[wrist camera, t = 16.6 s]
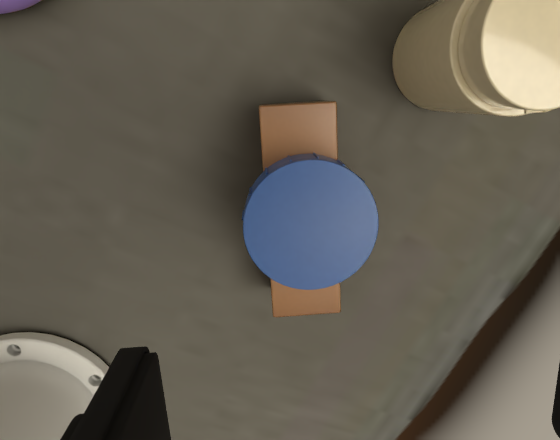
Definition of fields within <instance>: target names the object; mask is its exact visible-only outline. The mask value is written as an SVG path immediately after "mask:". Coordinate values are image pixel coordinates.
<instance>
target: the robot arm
mask: <svg viewBox="0 0 560 440" xmlns="http://www.w3.org/2000/svg"><path fill="white" fill-rule="evenodd" d="M552 424H553V427H554V430H555V432H556V434H557V435H558V437H559V438H560V364H559V371H558V378H557V385H556V392H555V399H554V406H553V413H552ZM0 440H171V437H170V430H169V424H168V417H167V411H166V405H165V398H164V392H163V385H162V379H161V372H160V366H159V360H158V355H157V353H156V352H155V353H150V352H149V349H148V348H147V347H133V348H122V349H120V350H119V351H118V353H117V355H116V356H115V358H114V360H113V362H112V364H111V365H110V367H108V366H107V365H106V364H105V363H104V362H103V361H102V360H101V359H100V358H99V357H98V356H96V355H95V354H93V353H92V352H91V351H89V350H88V349H86V348H85V347H83V346H81V345H79V344H76V343H74V342H72V341H70V340H68V339H64V338H61V337H58V336H54V335H51V334H43V333H36V332H19V333H10V334H5V335H0Z"/></svg>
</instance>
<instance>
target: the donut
mask: <svg viewBox="0 0 560 440" xmlns="http://www.w3.org/2000/svg"><path fill="white" fill-rule="evenodd" d="M40 1H42V0H0V14H5V13H12V12H16V11H19V10H23V9H26V8H29V7H31V6H33V5H35V4H36V3H38V2H40Z"/></svg>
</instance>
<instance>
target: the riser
mask: <svg viewBox="0 0 560 440" xmlns="http://www.w3.org/2000/svg"><path fill="white" fill-rule="evenodd" d="M259 120H260V135H261V149H262V164H263V171H265V168H266V167H267V168H268V167H269V166H271V165H272V164H274V163H276V162H277V161H279V160H281V159H284V158H286V157H288V155H290V156H293V155H298V154H313V152H314V153H316V154H318V155H323V156H327V157H329V158H332V159H334V160H336V161H337V159H338V146H337V103H336V102H335V101H312V102H295V103H278V104H262V105H259ZM270 281H271V295H272V310H273V317H285V316H299V315H312V314H326V313H339V312H340V311H341V300H340V283H338V284H335V285H333V286H330V287H326V288H322V289H315V290H303V289H295V288H291V287H288V286H284V285H282V284H280V283H278V282H276V281H274V280H272V279H271V278H270Z"/></svg>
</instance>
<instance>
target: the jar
mask: <svg viewBox="0 0 560 440" xmlns="http://www.w3.org/2000/svg"><path fill="white" fill-rule="evenodd" d="M392 63H393V73H394V77H395V80H396V83H397V85H398V87H399V89H400V90H401V92H402V93H403V95H404V96H405V97H406V98H407V99H408V100H409V101H410V102H412V103H413V104H415V105H416V106H418V107H421V108H423V109H427V110H432V111H443V112H456V113H468V114H481V115H494V116H521V115H526V114H530V113H540V112H547V111H550V110H553V109H557V108H560V0H439V1H437V2H435V3H433V4H432V5H430V6H428V7H426V8H424V9H423V10H421V11H419V12H418V13H417V14H415V15H414V16H413V17H412V18H411V19H410V20H409V21H408V22H407V23H406V25H405V26H404V27H403V29H402V30H401V32H400V34H399V36H398V38H397V40H396V44H395V47H394V51H393V60H392Z"/></svg>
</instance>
